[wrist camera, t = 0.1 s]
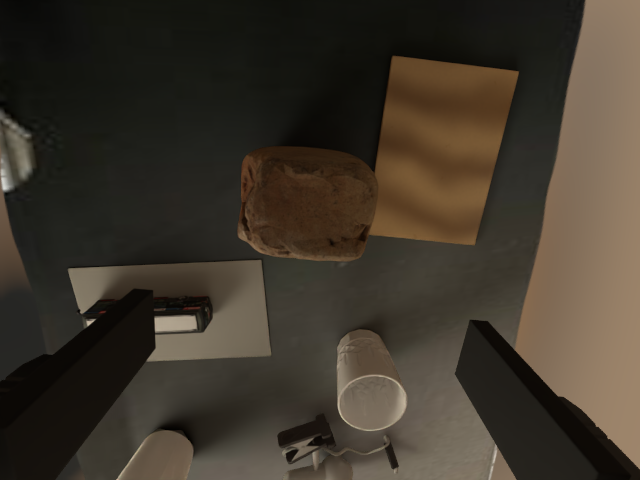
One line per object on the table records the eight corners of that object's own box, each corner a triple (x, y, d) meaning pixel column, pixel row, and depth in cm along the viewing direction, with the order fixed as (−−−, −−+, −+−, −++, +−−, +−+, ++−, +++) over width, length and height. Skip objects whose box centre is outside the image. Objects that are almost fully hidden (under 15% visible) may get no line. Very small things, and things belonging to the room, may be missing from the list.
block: (355, 152, 39) (394, 165, 20) (345, 214, 41) (372, 280, 22) (263, 140, 38) (210, 140, 19) (258, 203, 40) (206, 261, 21)
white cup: (344, 318, 45) (352, 366, 36) (397, 334, 46) (419, 385, 36) (325, 364, 47) (327, 421, 38) (376, 378, 48) (391, 438, 39)
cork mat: (391, 56, 36) (392, 55, 35) (516, 72, 36) (519, 71, 36) (364, 232, 42) (365, 234, 41) (472, 243, 42) (474, 245, 42)
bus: (67, 268, 42) (41, 282, 38) (261, 259, 42) (255, 272, 38) (95, 363, 47) (74, 384, 43) (271, 355, 47) (266, 376, 43)
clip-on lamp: (388, 398, 53) (275, 419, 49) (407, 427, 47) (280, 454, 43) (386, 460, 55) (279, 485, 51) (405, 495, 49) (284, 527, 45)
